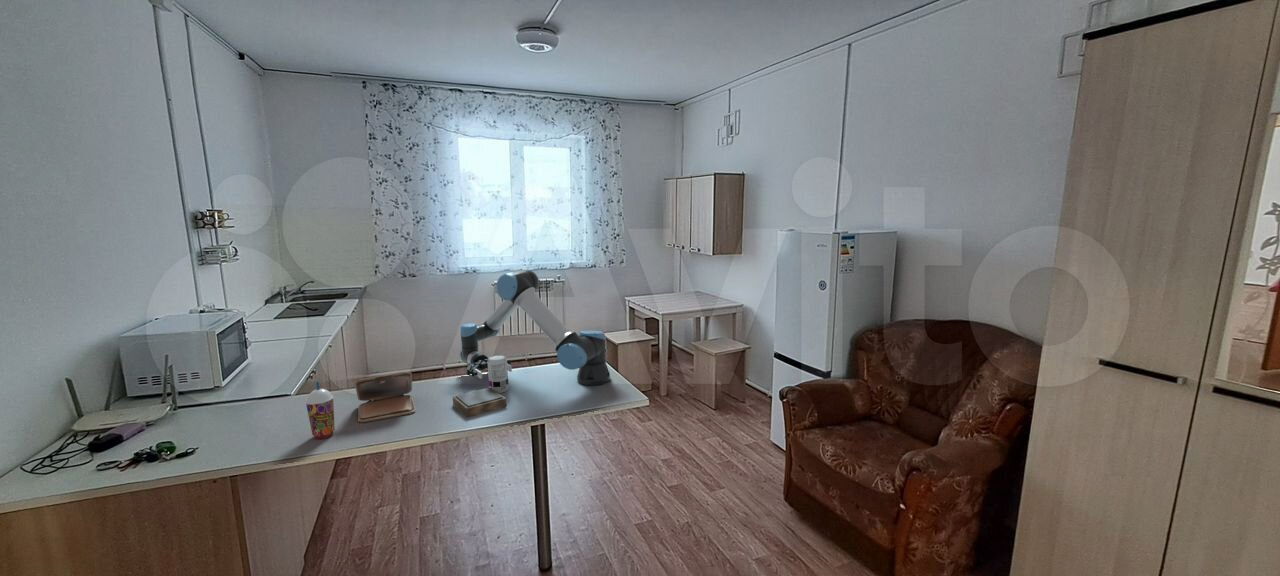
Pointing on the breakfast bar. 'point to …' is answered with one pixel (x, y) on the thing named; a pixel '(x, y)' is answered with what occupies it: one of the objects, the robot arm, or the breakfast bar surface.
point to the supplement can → (498, 373)
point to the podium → (479, 401)
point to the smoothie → (321, 412)
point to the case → (385, 396)
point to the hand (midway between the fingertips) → (496, 372)
